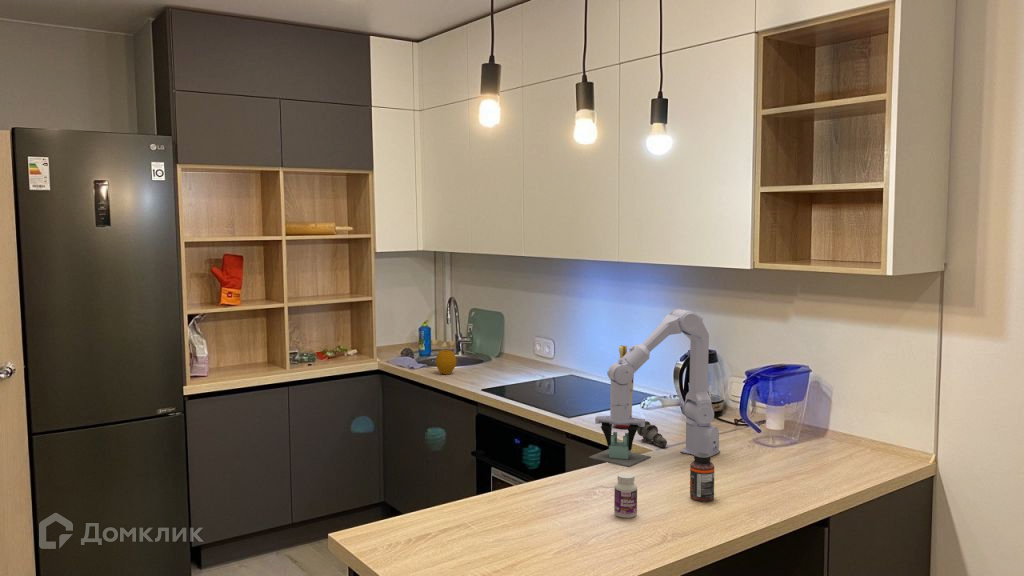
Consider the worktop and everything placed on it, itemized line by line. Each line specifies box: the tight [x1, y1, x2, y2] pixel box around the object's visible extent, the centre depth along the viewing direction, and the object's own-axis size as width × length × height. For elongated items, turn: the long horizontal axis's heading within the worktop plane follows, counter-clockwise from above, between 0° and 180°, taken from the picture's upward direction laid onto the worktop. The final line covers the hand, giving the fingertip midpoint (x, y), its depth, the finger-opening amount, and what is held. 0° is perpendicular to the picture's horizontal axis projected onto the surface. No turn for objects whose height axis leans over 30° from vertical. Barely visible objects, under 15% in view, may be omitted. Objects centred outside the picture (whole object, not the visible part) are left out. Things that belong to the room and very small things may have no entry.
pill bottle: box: [613, 472, 638, 519], centre depth 188 cm, size 5×5×10 cm
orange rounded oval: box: [435, 349, 457, 375], centre depth 369 cm, size 10×10×12 cm
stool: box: [609, 431, 632, 459], centre depth 234 cm, size 6×6×6 cm
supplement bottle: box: [689, 453, 715, 502], centre depth 199 cm, size 6×6×11 cm
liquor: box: [613, 345, 635, 430], centre depth 269 cm, size 7×7×28 cm
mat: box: [588, 448, 652, 468], centre depth 234 cm, size 14×12×1 cm
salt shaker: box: [636, 420, 668, 448], centre depth 248 cm, size 6×6×12 cm
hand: (619, 448), depth 234 cm, fingers closed on stool, 5 cm apart
